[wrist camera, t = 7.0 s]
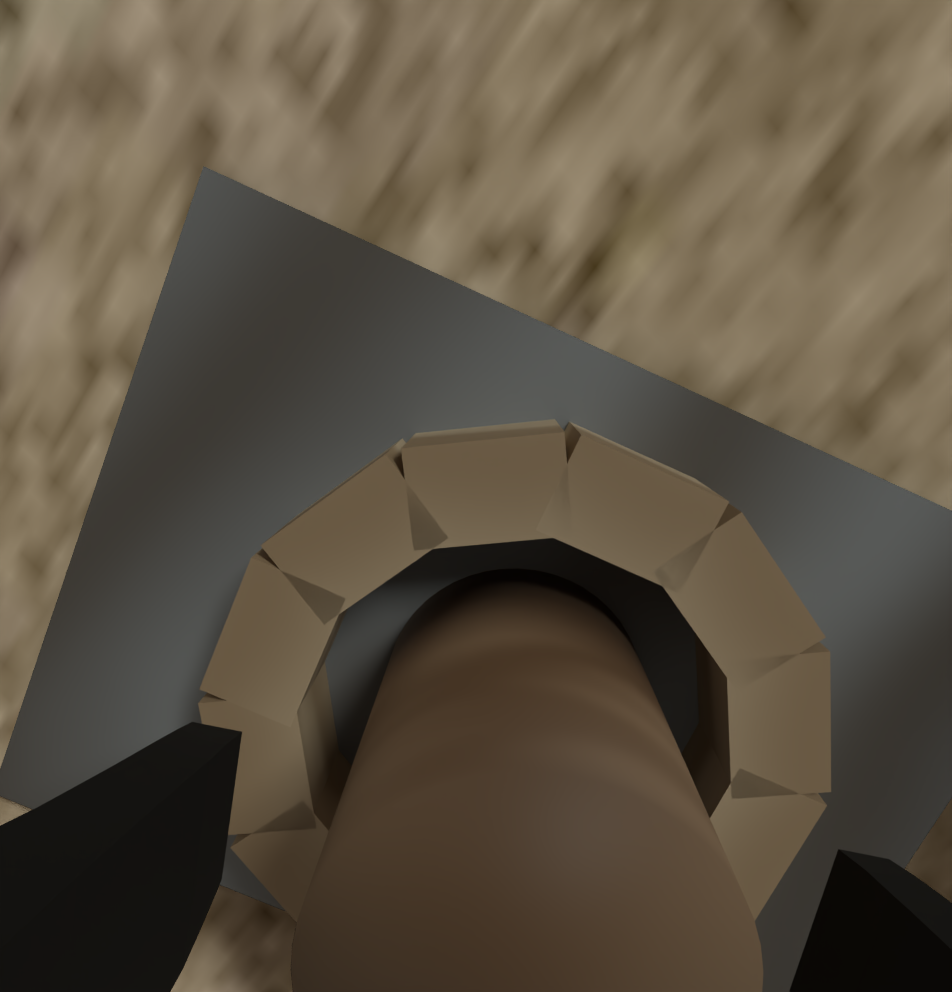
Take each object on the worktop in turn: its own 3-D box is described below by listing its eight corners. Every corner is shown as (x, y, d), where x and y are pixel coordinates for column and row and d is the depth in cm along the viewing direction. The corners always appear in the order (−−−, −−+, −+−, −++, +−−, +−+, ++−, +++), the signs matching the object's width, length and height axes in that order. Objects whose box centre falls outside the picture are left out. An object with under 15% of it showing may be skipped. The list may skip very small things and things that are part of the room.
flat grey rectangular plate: (1075, 569, 12) (1200, 618, 10) (742, 1074, 15) (785, 1204, 13) (215, 173, 12) (147, 132, 9) (9, 777, 14) (-85, 860, 12)
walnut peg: (666, 592, 12) (817, 818, 6) (612, 821, 13) (701, 1203, 7) (407, 548, 12) (320, 733, 6) (371, 780, 13) (267, 1128, 7)
